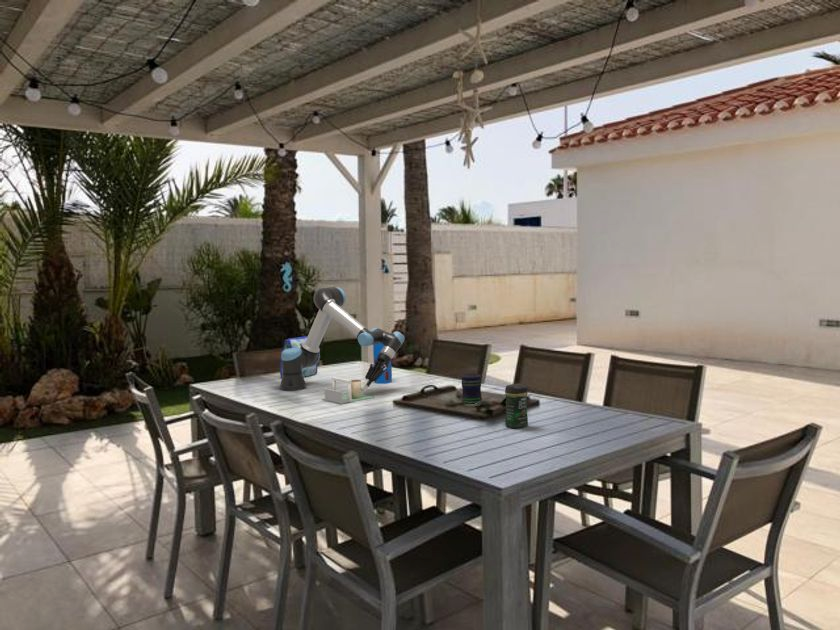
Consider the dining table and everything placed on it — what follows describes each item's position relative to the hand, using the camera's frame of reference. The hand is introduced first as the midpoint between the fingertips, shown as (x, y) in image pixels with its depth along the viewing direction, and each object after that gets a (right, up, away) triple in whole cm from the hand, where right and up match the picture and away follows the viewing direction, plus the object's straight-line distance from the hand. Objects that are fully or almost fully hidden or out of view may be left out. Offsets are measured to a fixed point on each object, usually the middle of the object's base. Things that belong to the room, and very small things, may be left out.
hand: (362, 390), depth 365 cm
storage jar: (+57, -4, -28) cm, 64 cm away
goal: (-12, -4, -9) cm, 16 cm away
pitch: (-8, -4, -3) cm, 9 cm away
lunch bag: (-47, 0, +75) cm, 89 cm away
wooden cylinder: (-4, -4, -2) cm, 6 cm away
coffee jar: (+73, -7, -74) cm, 104 cm away
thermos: (+9, 0, +46) cm, 46 cm away
